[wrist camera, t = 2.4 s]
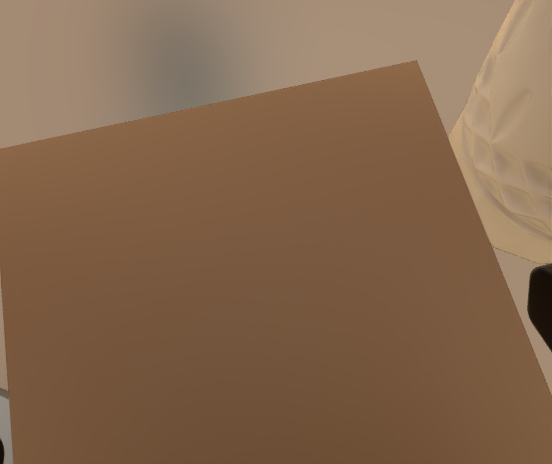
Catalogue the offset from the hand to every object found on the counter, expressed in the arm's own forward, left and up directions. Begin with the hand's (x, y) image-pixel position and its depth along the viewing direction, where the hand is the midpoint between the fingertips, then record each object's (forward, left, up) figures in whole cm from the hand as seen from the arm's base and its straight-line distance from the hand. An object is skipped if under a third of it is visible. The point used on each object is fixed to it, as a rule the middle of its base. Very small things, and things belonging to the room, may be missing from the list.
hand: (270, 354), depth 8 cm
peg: (0, 0, -8) cm, 8 cm away
